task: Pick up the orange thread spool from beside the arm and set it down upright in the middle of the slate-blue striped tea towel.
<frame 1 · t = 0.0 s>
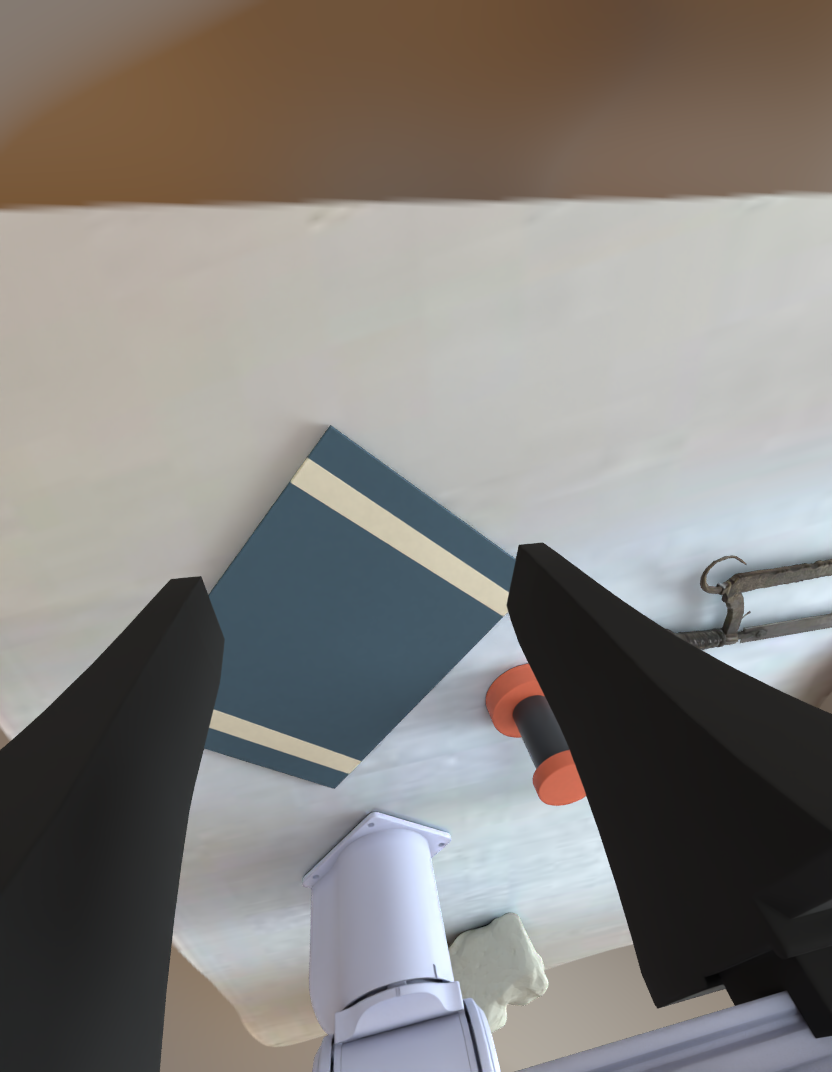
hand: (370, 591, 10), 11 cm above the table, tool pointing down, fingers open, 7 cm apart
tea towel: (332, 645, 24), on the table
decorative stone: (488, 934, 45), on the table
hacksaw: (809, 567, 28), on the table
orange thread spool: (522, 692, 28), on the table
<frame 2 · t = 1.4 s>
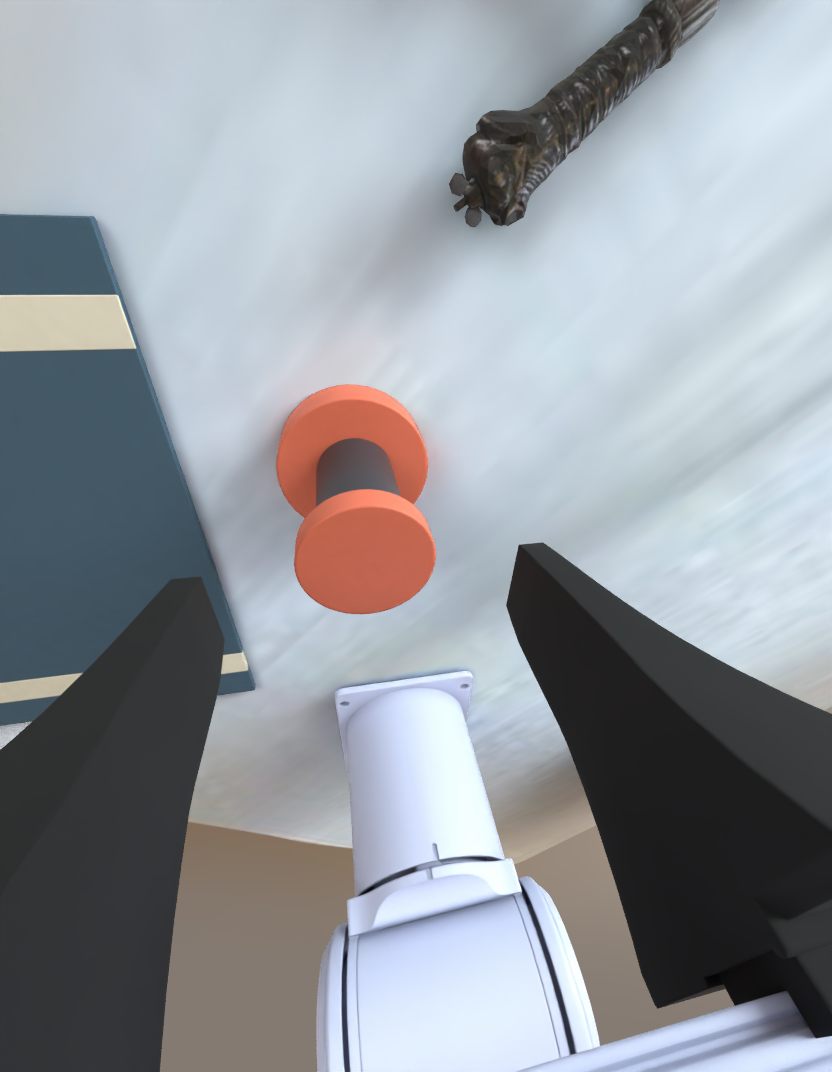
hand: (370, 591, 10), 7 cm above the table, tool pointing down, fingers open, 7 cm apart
tea towel: (1, 551, 16), on the table
orange thread spool: (352, 454, 16), on the table
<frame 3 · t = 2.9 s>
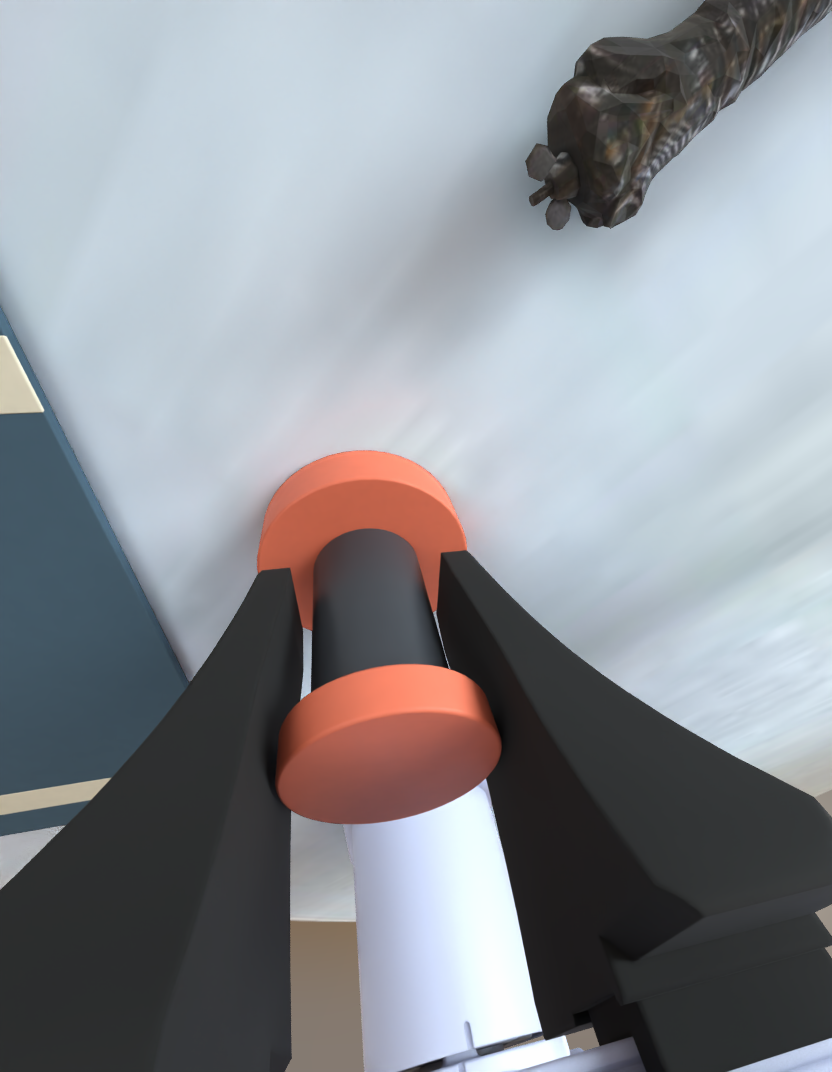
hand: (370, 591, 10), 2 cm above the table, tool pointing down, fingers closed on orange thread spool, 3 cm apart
orange thread spool: (362, 536, 12), on the table, touching gripper
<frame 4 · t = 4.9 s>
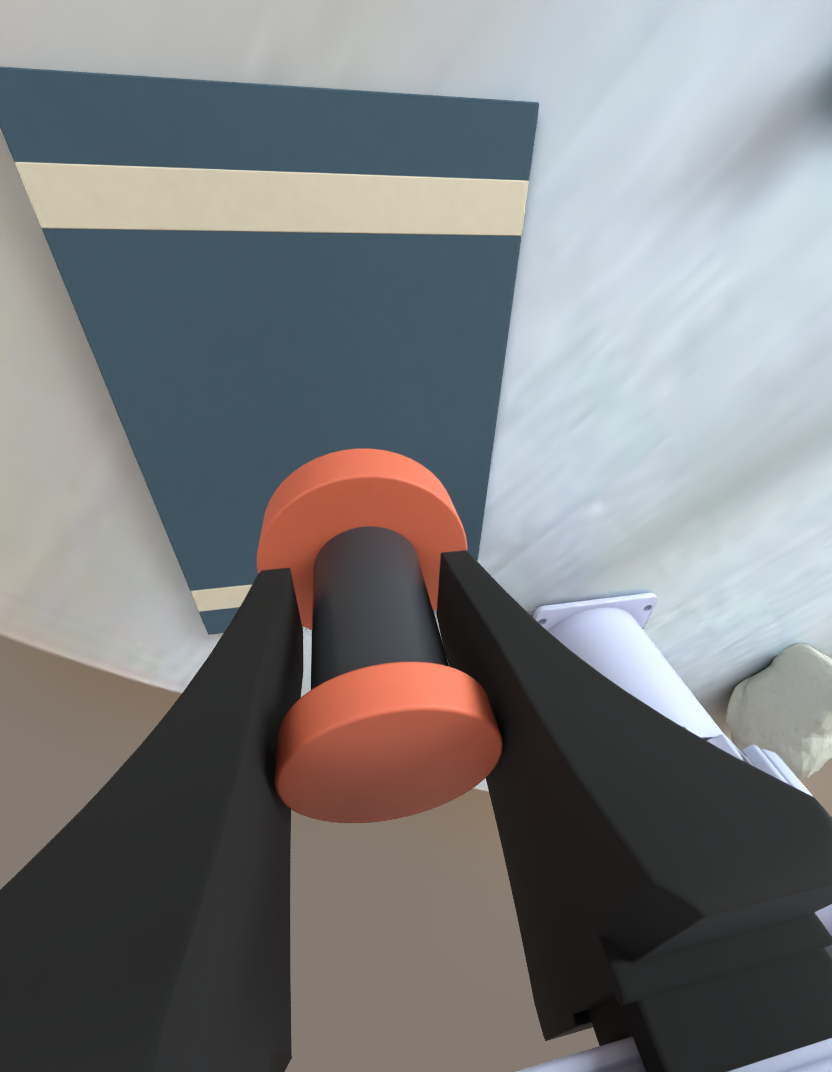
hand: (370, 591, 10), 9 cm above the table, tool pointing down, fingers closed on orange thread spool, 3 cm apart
tea towel: (325, 442, 17), on the table
decorative stone: (776, 674, 37), on the table
orange thread spool: (362, 534, 12), point 7 cm above the table, touching gripper
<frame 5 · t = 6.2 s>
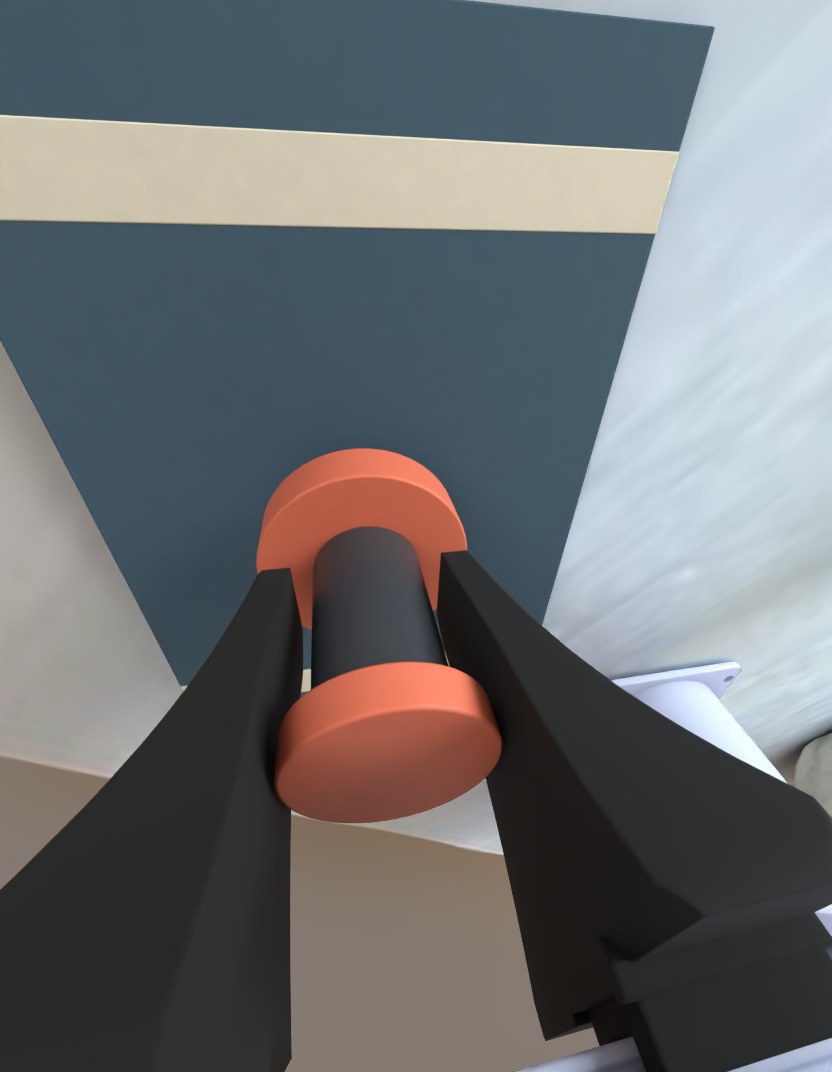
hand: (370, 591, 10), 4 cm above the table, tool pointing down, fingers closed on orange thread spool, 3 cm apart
tea towel: (360, 509, 13), on the table
orange thread spool: (362, 534, 12), point 1 cm above the table, touching gripper
when the fingers open (2 cm above the table, at t = 6.9 s): orange thread spool stays where it is, resting on tea towel.
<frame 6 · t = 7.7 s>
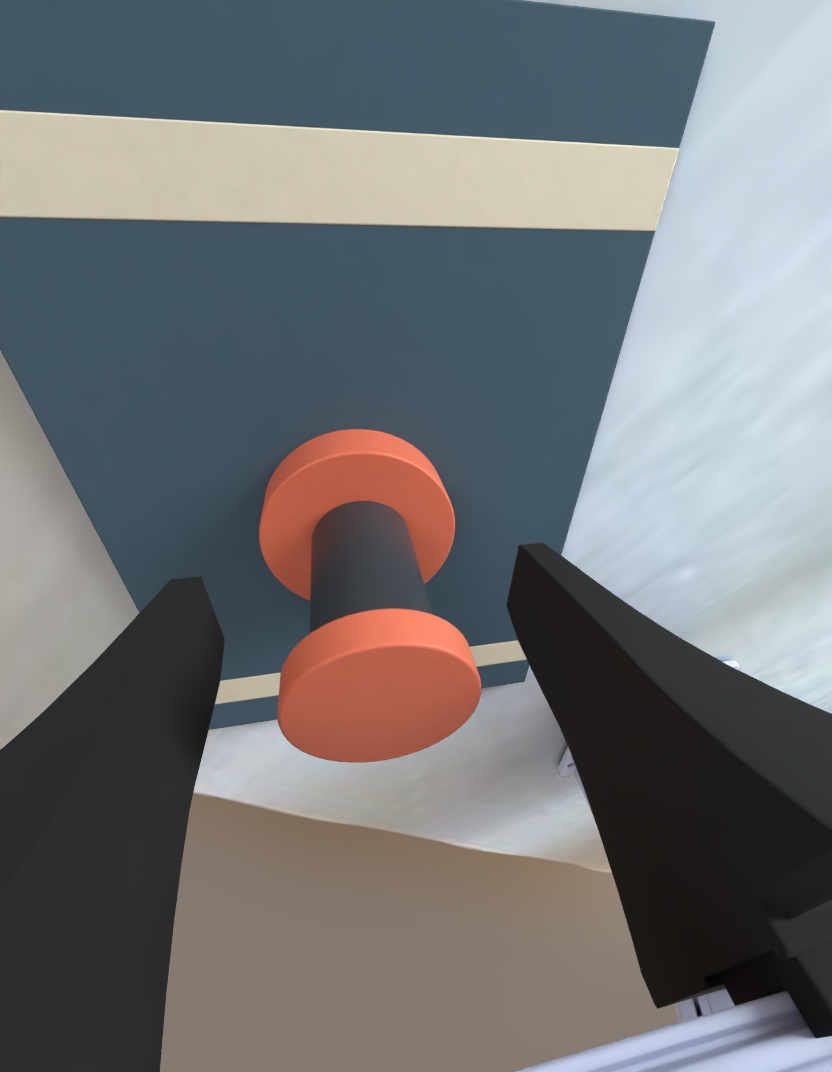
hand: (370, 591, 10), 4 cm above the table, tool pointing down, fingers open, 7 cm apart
tea towel: (358, 508, 13), on the table
orange thread spool: (357, 512, 13), resting on tea towel
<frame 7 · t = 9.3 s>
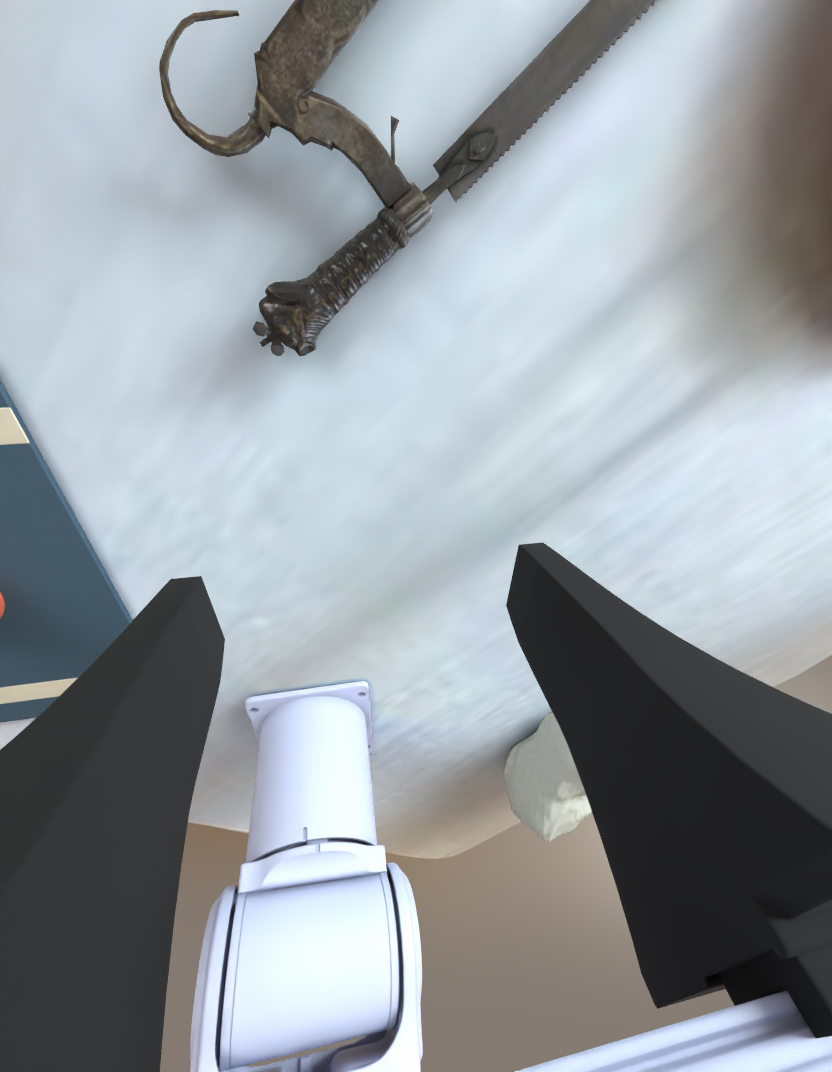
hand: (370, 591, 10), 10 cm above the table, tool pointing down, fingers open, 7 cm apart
decorative stone: (558, 734, 40), on the table
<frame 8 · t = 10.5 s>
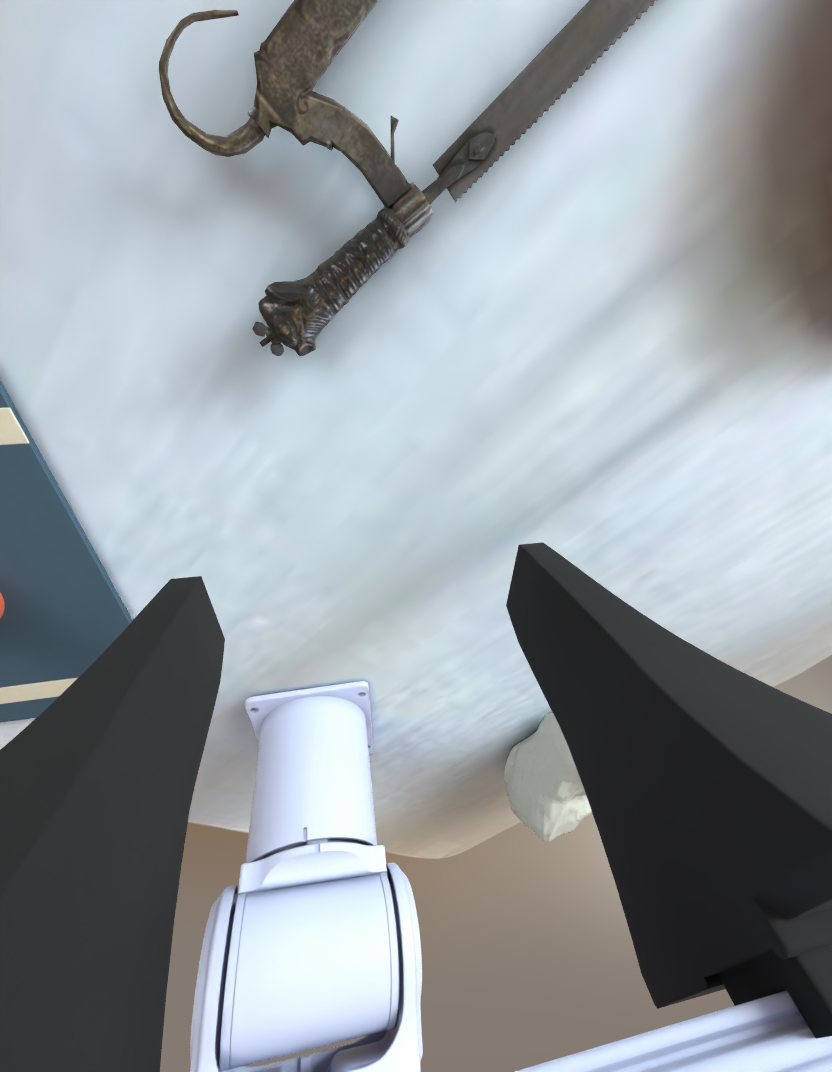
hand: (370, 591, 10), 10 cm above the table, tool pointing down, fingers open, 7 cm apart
decorative stone: (558, 734, 40), on the table
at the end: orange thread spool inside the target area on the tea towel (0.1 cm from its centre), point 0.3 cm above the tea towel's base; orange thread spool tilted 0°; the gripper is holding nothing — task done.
